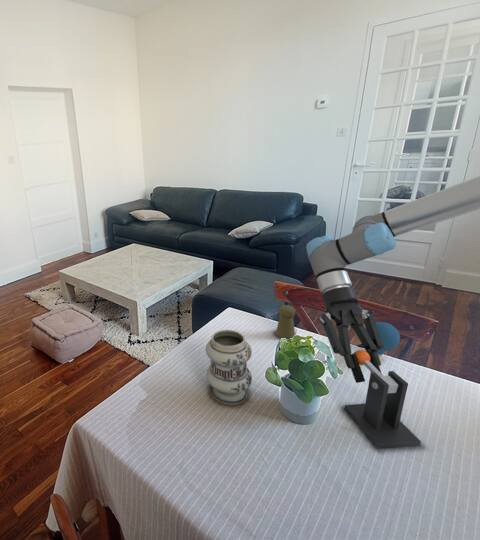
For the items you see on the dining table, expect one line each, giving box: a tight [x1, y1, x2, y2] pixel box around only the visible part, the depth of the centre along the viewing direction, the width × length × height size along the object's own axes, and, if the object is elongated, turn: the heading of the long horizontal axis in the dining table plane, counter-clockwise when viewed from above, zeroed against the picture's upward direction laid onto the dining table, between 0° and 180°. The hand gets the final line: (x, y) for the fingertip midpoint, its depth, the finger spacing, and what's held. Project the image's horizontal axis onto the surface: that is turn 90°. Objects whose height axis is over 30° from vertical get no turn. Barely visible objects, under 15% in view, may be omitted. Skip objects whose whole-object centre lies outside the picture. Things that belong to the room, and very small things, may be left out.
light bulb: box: [365, 321, 401, 360], centre depth 99 cm, size 8×8×12 cm
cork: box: [275, 304, 296, 340], centre depth 116 cm, size 6×6×11 cm
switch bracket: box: [343, 370, 422, 450], centre depth 77 cm, size 12×9×14 cm
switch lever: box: [352, 349, 398, 393], centre depth 79 cm, size 12×4×4 cm, turn 0°
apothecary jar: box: [204, 329, 253, 406], centre depth 92 cm, size 12×12×18 cm
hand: (369, 381), depth 81 cm, fingers closed on switch lever, 4 cm apart
